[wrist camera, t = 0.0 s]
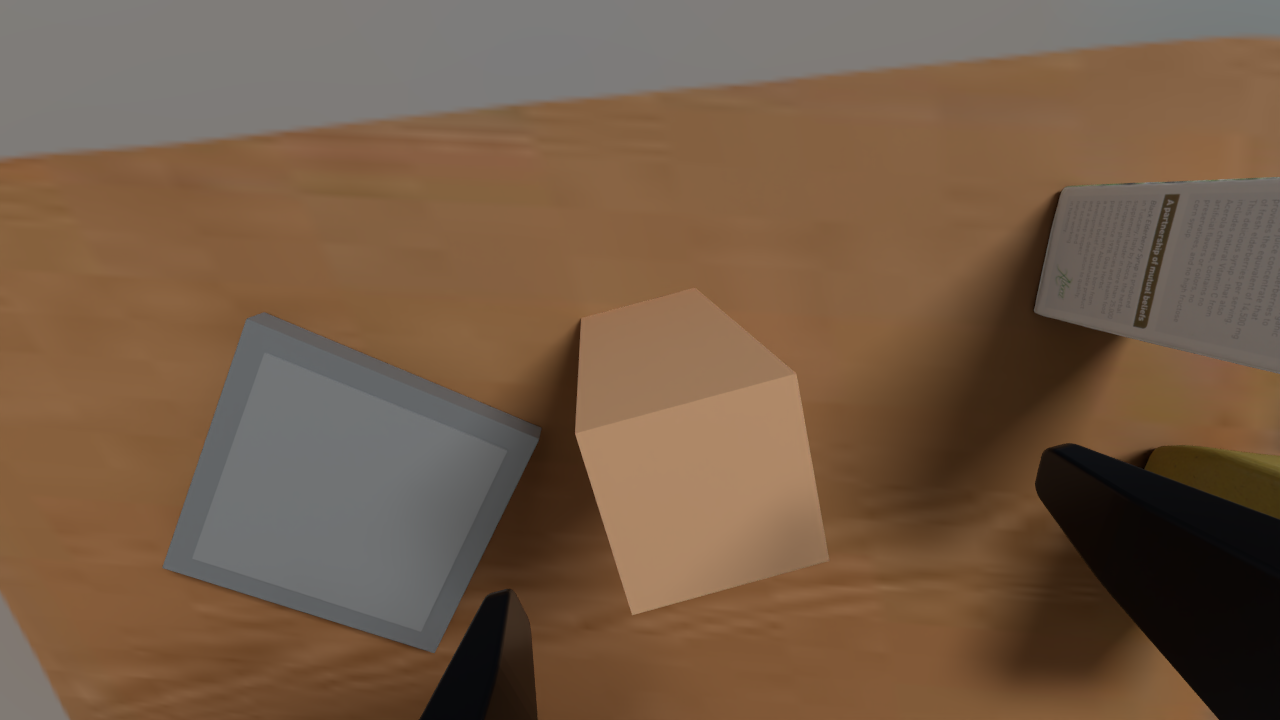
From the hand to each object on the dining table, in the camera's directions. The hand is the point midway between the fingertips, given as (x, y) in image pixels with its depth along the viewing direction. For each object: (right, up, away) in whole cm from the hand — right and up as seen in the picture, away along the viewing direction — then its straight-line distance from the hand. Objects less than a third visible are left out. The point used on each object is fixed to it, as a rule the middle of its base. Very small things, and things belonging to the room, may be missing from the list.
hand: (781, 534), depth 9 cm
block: (-2, +3, +15) cm, 16 cm away
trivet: (-15, -3, +16) cm, 22 cm away
